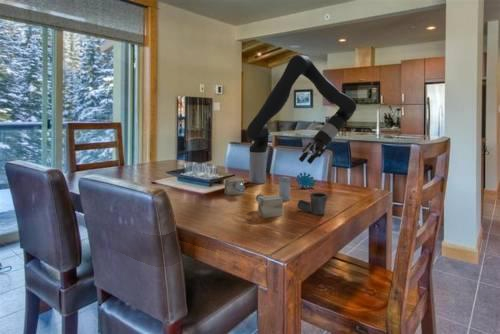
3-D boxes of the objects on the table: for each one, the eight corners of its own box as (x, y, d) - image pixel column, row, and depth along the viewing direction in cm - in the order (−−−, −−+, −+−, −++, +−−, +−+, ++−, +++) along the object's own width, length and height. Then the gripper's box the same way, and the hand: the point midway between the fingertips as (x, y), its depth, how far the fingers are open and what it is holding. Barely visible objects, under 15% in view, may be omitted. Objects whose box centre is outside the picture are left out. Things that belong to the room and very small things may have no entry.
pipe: (302, 208, 147) (303, 189, 146) (330, 214, 139) (331, 194, 138) (294, 211, 142) (295, 192, 141) (323, 218, 134) (324, 197, 133)
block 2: (258, 214, 138) (258, 196, 137) (276, 212, 141) (276, 195, 140) (263, 218, 133) (264, 200, 132) (282, 215, 137) (282, 197, 135)
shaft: (255, 202, 145) (255, 194, 144) (263, 201, 146) (263, 193, 145) (263, 207, 138) (263, 198, 138) (271, 206, 140) (271, 197, 139)
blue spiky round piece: (297, 186, 181) (296, 170, 187) (294, 192, 185) (293, 176, 191) (318, 189, 182) (316, 173, 188) (314, 195, 187) (312, 179, 193)
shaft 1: (232, 189, 168) (232, 182, 167) (239, 188, 169) (239, 181, 169) (238, 192, 162) (238, 185, 161) (245, 192, 163) (245, 184, 163)
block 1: (224, 193, 172) (224, 179, 171) (239, 191, 175) (239, 177, 174) (228, 195, 167) (228, 181, 166) (243, 193, 171) (243, 179, 170)
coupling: (276, 198, 162) (276, 177, 161) (286, 197, 165) (286, 176, 163) (281, 201, 158) (282, 179, 156) (292, 200, 160) (292, 178, 158)
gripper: (313, 129, 170) (292, 155, 168) (328, 129, 156) (305, 157, 154) (323, 139, 172) (302, 165, 170) (339, 141, 158) (317, 168, 157)
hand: (304, 161), depth 162 cm, fingers open, 8 cm apart
